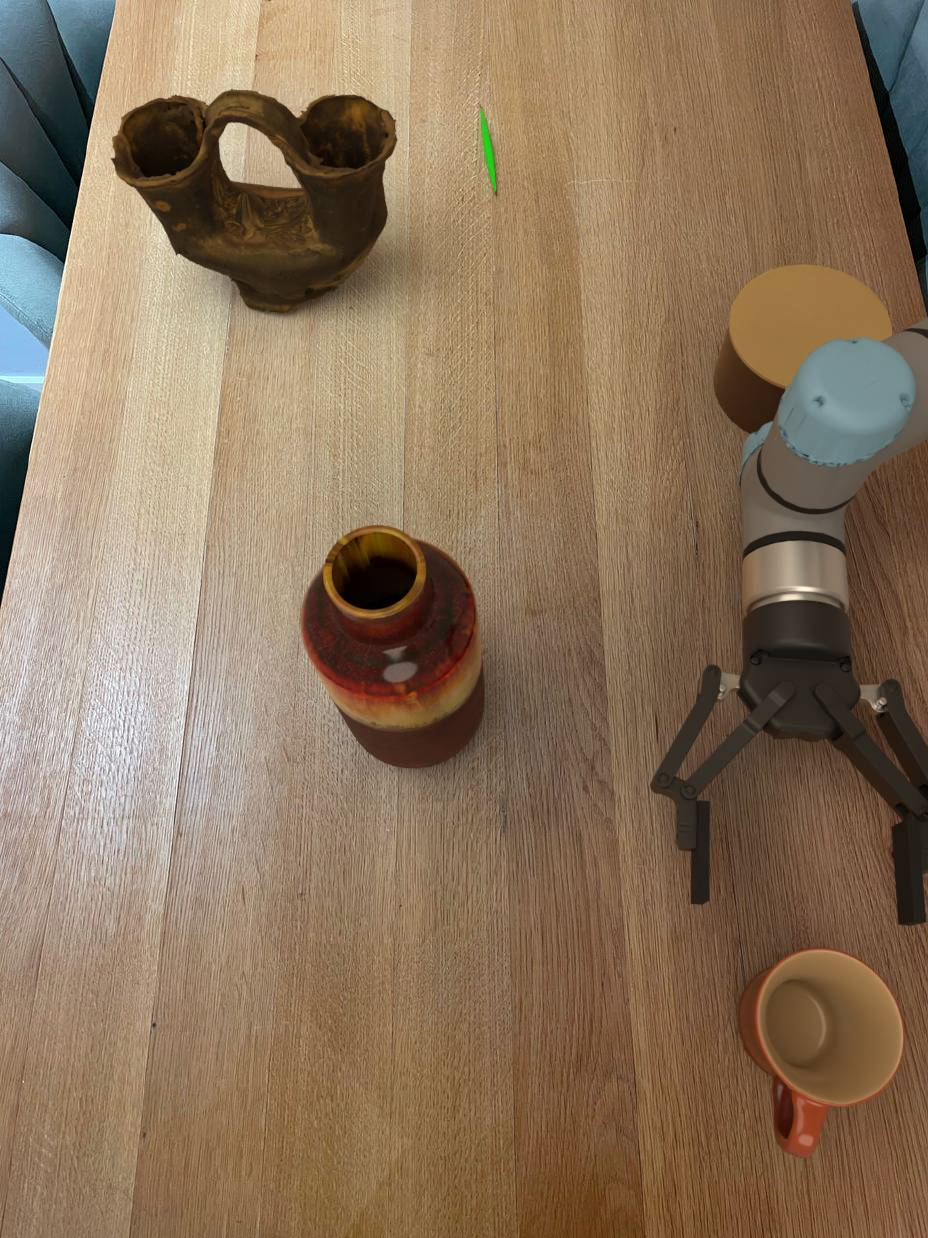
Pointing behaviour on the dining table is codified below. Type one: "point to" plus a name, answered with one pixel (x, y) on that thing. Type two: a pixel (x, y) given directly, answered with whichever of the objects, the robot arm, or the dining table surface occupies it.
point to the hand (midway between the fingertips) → (805, 913)
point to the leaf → (488, 150)
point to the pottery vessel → (264, 189)
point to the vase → (397, 645)
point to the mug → (820, 1038)
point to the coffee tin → (787, 334)
